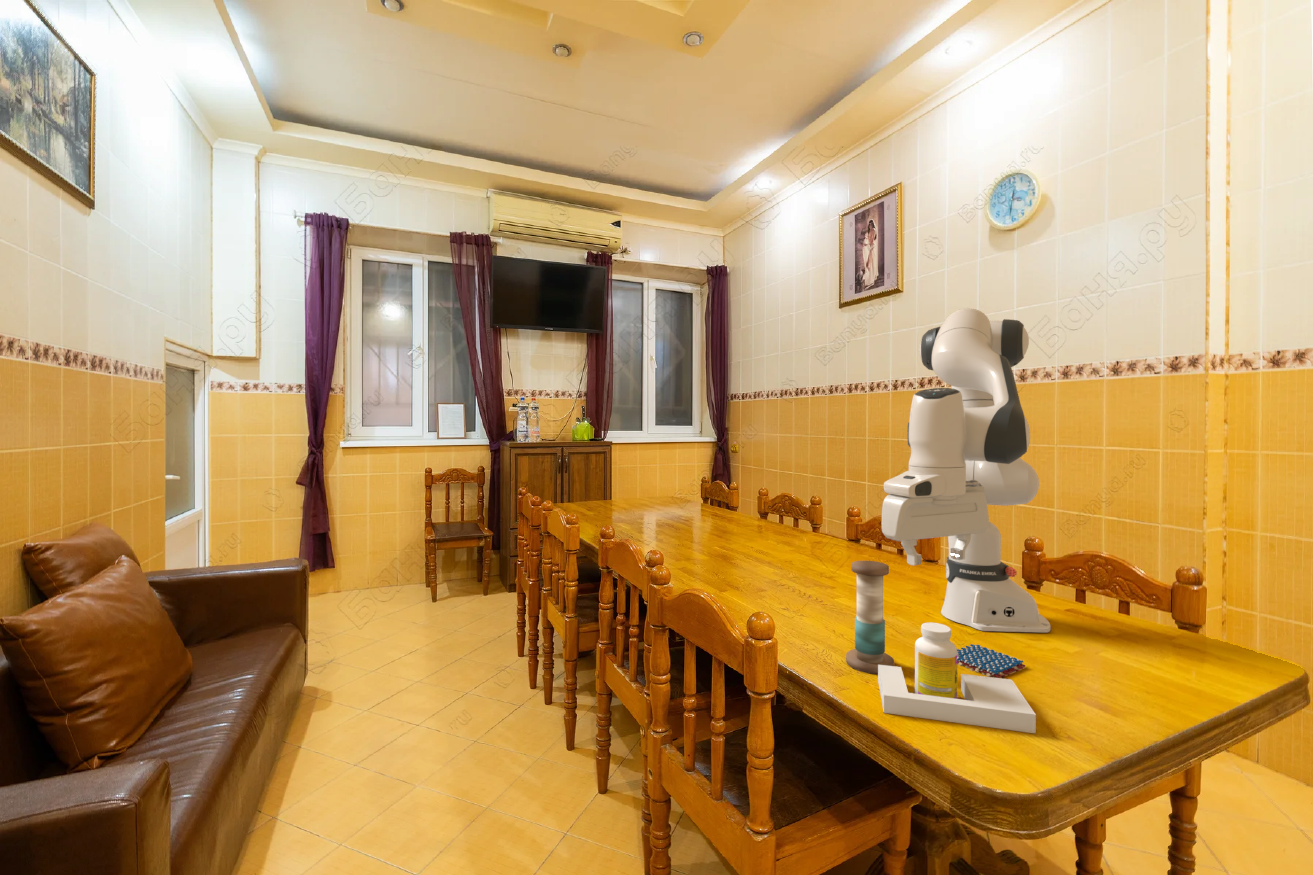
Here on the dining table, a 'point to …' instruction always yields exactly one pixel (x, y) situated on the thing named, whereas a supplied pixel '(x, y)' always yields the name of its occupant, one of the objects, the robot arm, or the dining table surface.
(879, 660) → the bobbin
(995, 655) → the woven mat
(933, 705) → the notched board
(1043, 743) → the dining table surface
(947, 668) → the supplement bottle
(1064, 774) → the dining table surface
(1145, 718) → the dining table surface
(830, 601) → the dining table surface
